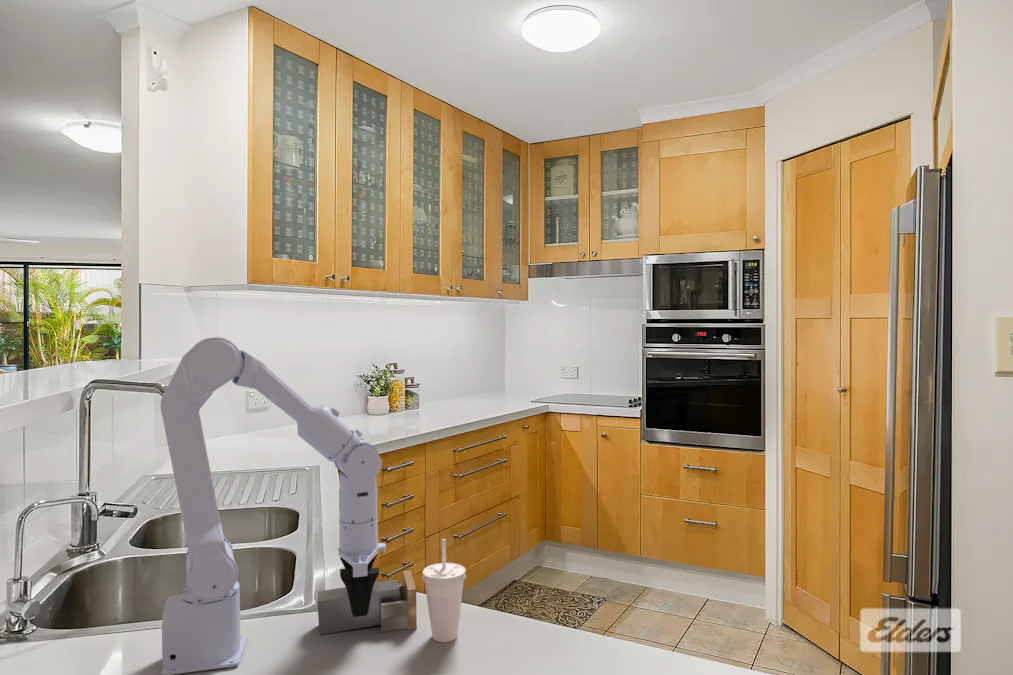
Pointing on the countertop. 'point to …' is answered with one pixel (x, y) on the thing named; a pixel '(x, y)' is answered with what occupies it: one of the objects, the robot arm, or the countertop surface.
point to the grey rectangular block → (338, 610)
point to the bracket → (401, 608)
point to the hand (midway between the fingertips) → (359, 607)
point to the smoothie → (444, 597)
